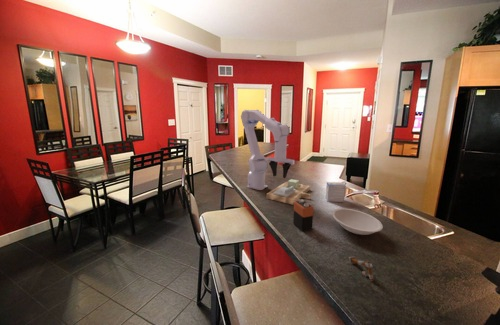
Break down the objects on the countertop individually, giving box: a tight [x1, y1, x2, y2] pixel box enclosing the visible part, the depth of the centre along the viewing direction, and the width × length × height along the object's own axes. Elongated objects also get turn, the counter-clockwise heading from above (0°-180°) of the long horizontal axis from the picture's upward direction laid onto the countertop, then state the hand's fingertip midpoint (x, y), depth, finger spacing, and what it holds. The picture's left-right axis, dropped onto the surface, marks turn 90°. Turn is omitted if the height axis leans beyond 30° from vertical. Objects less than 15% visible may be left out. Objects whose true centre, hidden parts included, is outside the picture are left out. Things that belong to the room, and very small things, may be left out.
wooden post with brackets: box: [348, 256, 374, 282], centre depth 59 cm, size 2×8×4 cm, turn 12°
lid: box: [273, 186, 296, 197], centre depth 111 cm, size 8×10×3 cm
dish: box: [332, 208, 384, 236], centre depth 79 cm, size 18×14×5 cm
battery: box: [292, 198, 314, 232], centre depth 82 cm, size 4×7×10 cm, turn 20°
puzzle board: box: [266, 181, 312, 206], centre depth 115 cm, size 18×24×2 cm
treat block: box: [287, 178, 300, 190], centre depth 120 cm, size 4×4×6 cm
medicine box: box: [325, 181, 347, 203], centre depth 107 cm, size 8×4×9 cm, turn 84°
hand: (279, 176), depth 111 cm, fingers open, 5 cm apart
